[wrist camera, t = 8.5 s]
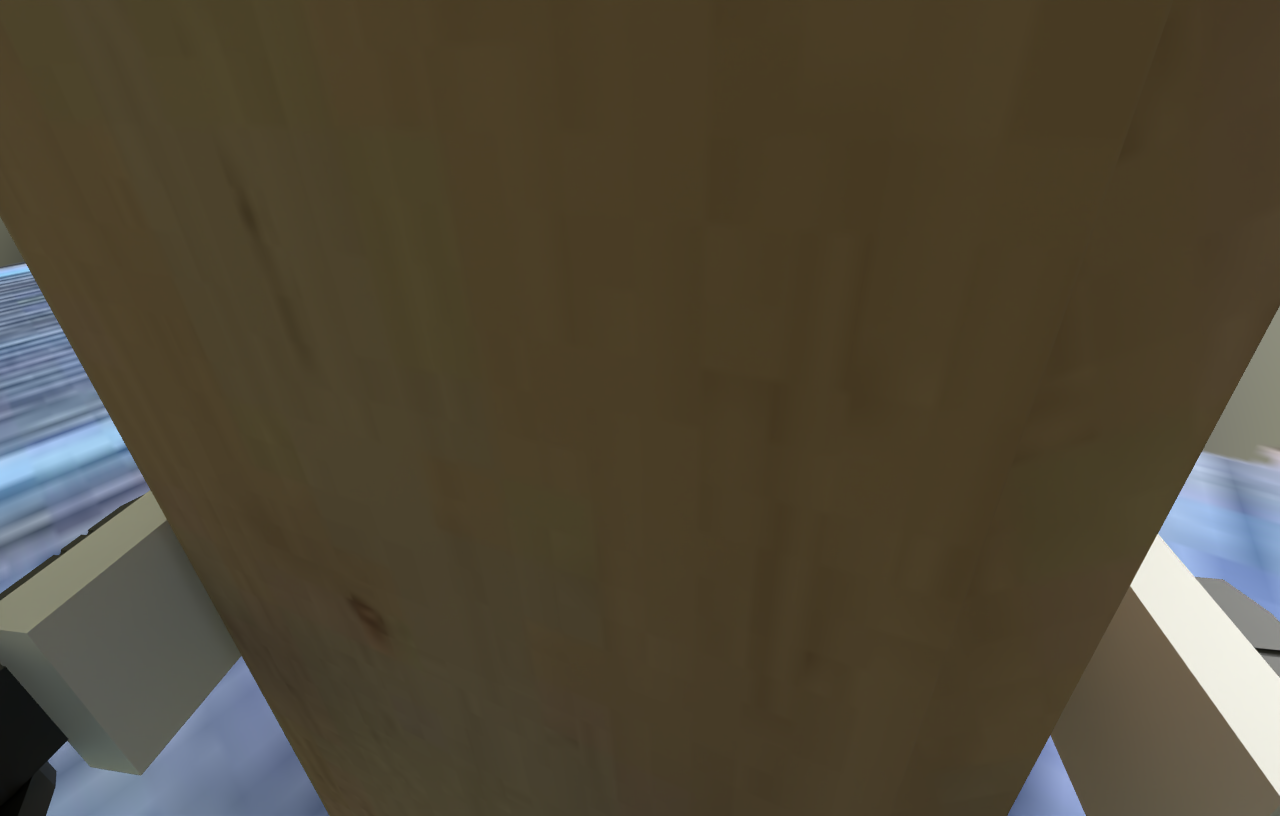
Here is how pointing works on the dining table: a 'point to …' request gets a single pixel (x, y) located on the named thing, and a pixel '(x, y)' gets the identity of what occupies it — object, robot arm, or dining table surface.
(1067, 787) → the dining table surface
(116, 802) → the dining table surface
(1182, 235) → the wooden block
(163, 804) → the dining table surface
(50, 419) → the dining table surface
